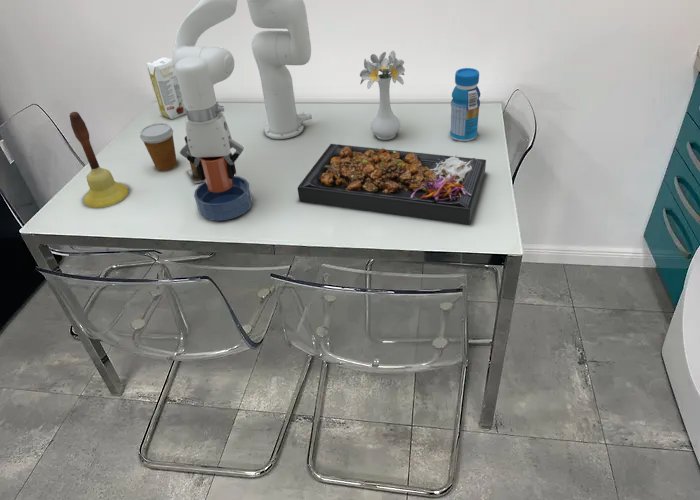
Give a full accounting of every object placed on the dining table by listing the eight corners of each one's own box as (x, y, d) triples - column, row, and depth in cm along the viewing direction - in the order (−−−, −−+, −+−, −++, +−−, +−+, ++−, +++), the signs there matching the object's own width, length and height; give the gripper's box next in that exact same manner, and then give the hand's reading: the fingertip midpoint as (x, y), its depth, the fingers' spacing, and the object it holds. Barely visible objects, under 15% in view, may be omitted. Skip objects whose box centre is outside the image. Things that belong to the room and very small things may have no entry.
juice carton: (191, 112, 201) (177, 59, 189) (171, 121, 196) (155, 67, 184) (178, 107, 205) (164, 55, 193) (158, 116, 200) (142, 63, 188)
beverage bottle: (447, 141, 171) (450, 76, 158) (451, 128, 177) (454, 65, 165) (475, 143, 168) (480, 78, 156) (479, 130, 175) (484, 67, 162)
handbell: (136, 184, 163) (107, 103, 148) (115, 208, 154) (82, 124, 138) (98, 183, 165) (65, 103, 150) (75, 207, 156) (37, 123, 140)
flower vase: (407, 121, 183) (406, 43, 168) (403, 148, 169) (402, 66, 153) (367, 121, 185) (363, 44, 170) (360, 148, 171) (355, 67, 155)
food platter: (484, 173, 155) (487, 139, 148) (469, 224, 137) (471, 188, 130) (331, 156, 168) (328, 125, 162) (299, 201, 150) (294, 167, 144)
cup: (228, 176, 150) (221, 146, 144) (236, 187, 145) (229, 156, 139) (204, 184, 147) (196, 153, 142) (212, 195, 143) (204, 164, 137)
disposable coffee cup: (174, 174, 166) (163, 137, 159) (145, 173, 168) (132, 136, 161) (187, 158, 174) (177, 122, 166) (159, 157, 175) (148, 121, 168)
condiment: (212, 165, 169) (202, 128, 162) (219, 177, 163) (210, 139, 156) (188, 171, 167) (177, 134, 160) (194, 184, 161) (184, 146, 153)
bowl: (242, 187, 158) (238, 169, 155) (260, 211, 148) (257, 193, 144) (192, 203, 153) (187, 185, 150) (208, 229, 143) (203, 211, 140)
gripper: (241, 103, 136) (254, 168, 147) (171, 107, 137) (188, 171, 148) (235, 116, 130) (249, 183, 141) (162, 120, 131) (181, 186, 142)
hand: (218, 176), depth 144 cm, fingers closed on cup, 6 cm apart
